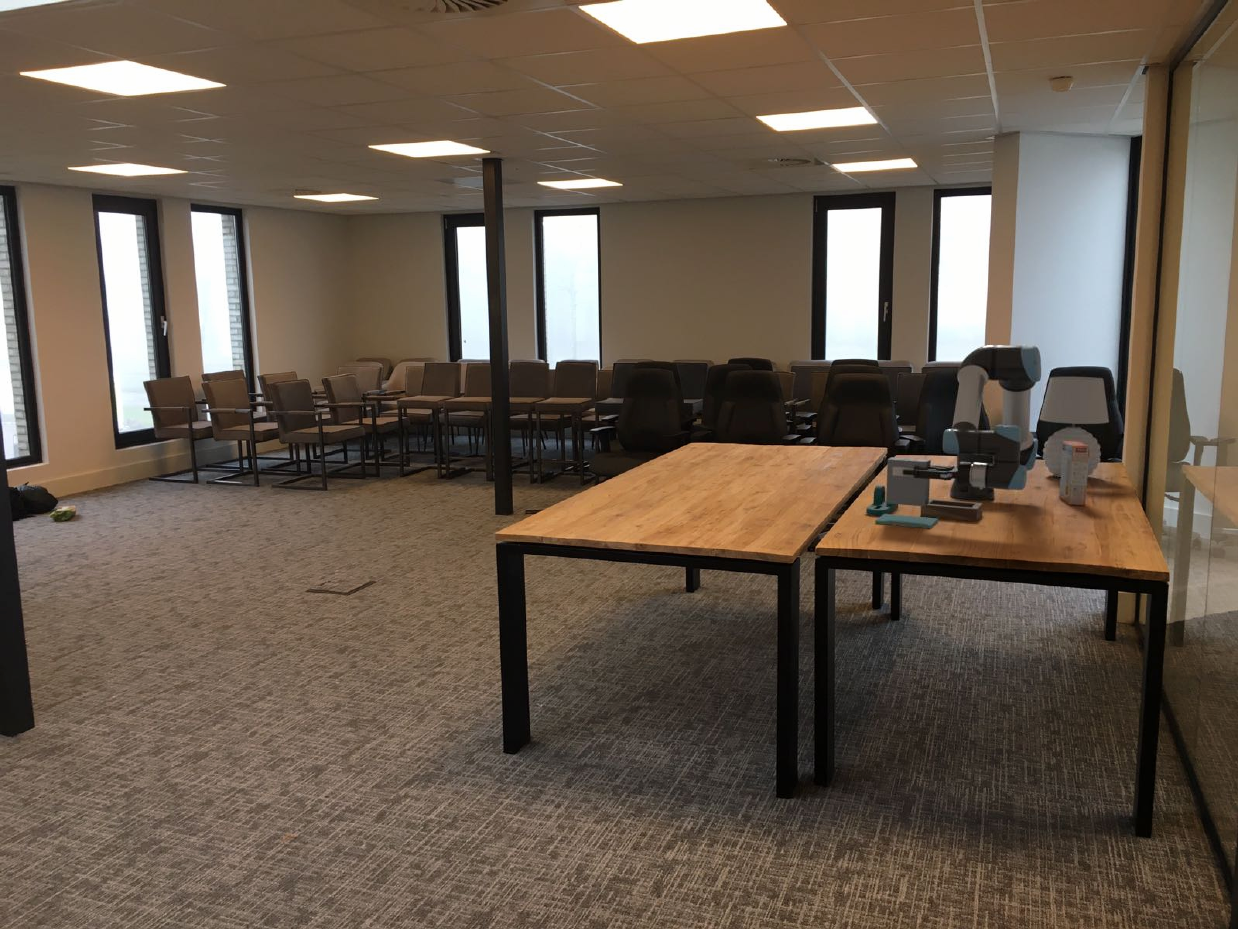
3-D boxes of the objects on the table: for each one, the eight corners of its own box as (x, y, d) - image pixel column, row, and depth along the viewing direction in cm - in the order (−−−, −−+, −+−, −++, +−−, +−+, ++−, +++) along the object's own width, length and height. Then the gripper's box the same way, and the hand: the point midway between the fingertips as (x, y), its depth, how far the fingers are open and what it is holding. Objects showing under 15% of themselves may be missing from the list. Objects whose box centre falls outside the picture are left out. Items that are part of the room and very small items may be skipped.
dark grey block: (890, 500, 320) (892, 457, 318) (928, 503, 315) (930, 459, 313) (886, 503, 315) (887, 459, 313) (924, 506, 309) (926, 461, 307)
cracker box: (1086, 506, 342) (1090, 445, 339) (1067, 505, 344) (1071, 445, 341) (1076, 498, 356) (1080, 440, 353) (1058, 498, 357) (1062, 440, 354)
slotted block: (927, 510, 336) (928, 498, 335) (982, 515, 327) (982, 503, 327) (920, 516, 326) (920, 504, 325) (976, 521, 317) (977, 509, 317)
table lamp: (1109, 483, 387) (1116, 380, 381) (1039, 480, 395) (1045, 379, 389) (1099, 473, 411) (1106, 376, 405) (1033, 471, 419) (1039, 375, 413)
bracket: (878, 506, 344) (879, 484, 343) (898, 508, 341) (899, 485, 340) (863, 515, 329) (864, 492, 327) (884, 517, 325) (885, 493, 324)
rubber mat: (884, 516, 325) (884, 513, 325) (937, 521, 317) (938, 518, 317) (875, 523, 315) (875, 520, 315) (930, 528, 307) (930, 525, 307)
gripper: (965, 491, 297) (887, 485, 307) (976, 482, 313) (901, 477, 324) (967, 466, 295) (888, 461, 306) (977, 458, 312) (902, 454, 323)
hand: (895, 469), depth 315 cm, fingers closed on dark grey block, 6 cm apart
